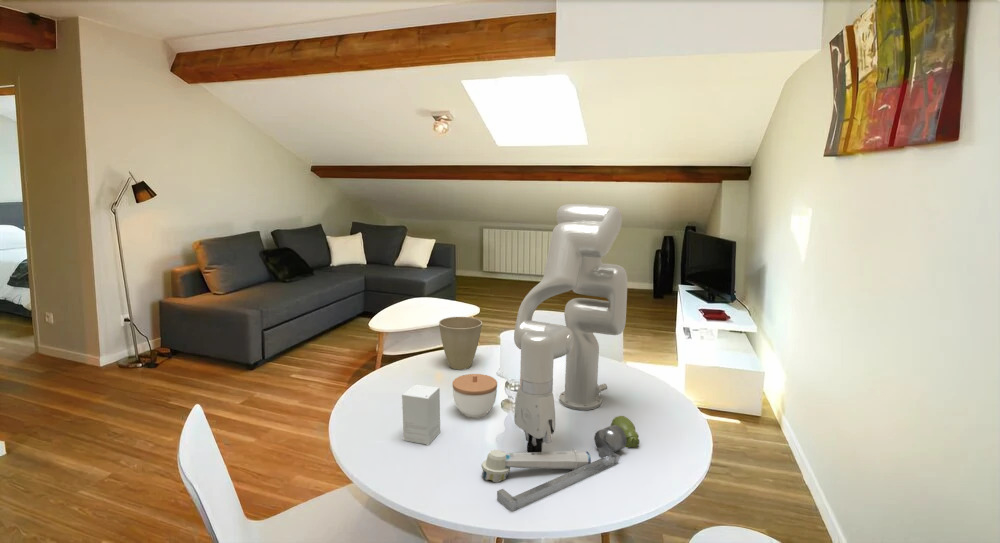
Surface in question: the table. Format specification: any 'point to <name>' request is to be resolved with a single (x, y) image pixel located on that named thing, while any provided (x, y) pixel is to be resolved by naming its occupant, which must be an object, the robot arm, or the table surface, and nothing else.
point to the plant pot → (460, 340)
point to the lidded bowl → (474, 394)
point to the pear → (627, 430)
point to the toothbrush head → (531, 462)
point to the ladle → (605, 443)
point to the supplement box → (421, 414)
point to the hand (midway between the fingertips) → (534, 457)
